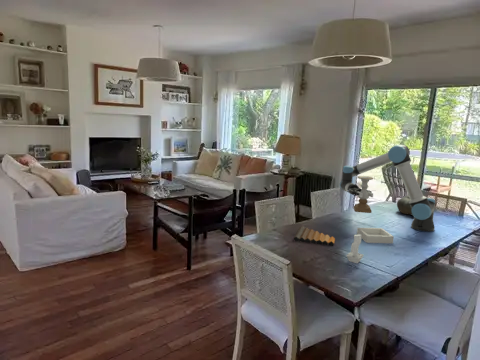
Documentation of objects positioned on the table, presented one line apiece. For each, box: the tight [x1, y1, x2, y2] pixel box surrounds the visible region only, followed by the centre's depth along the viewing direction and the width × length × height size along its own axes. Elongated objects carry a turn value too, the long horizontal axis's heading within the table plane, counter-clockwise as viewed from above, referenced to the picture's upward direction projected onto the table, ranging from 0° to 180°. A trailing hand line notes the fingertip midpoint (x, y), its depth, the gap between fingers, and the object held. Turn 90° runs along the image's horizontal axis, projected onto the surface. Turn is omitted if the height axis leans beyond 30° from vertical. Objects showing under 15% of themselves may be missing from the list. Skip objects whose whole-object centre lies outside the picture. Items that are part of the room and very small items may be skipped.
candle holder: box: [353, 175, 374, 214], centre depth 244 cm, size 11×11×24 cm
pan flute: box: [293, 225, 336, 247], centre depth 229 cm, size 25×3×25 cm
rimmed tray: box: [356, 227, 395, 244], centre depth 230 cm, size 17×17×4 cm
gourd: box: [396, 194, 413, 216], centre depth 295 cm, size 25×25×17 cm
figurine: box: [346, 234, 365, 264], centre depth 190 cm, size 7×9×15 cm
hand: (367, 195), depth 239 cm, fingers closed on candle holder, 7 cm apart
